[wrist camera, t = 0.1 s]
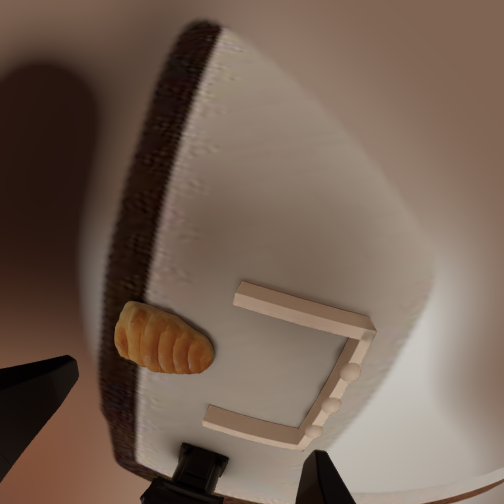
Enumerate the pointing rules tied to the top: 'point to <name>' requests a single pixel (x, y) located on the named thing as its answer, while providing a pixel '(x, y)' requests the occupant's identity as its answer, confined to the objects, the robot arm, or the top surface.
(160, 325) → the pastry
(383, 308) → the top surface
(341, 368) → the frame
